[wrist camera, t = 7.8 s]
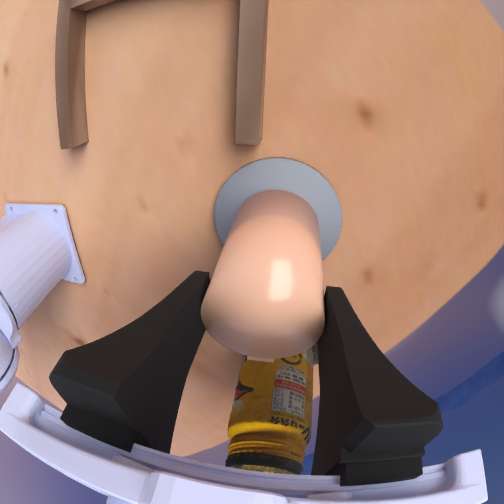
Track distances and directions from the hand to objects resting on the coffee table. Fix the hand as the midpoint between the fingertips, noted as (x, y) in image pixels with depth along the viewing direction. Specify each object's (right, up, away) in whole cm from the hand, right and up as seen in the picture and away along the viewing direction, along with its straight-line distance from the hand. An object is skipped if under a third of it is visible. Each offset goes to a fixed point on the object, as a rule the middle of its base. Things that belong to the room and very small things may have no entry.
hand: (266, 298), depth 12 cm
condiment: (+3, -6, +13) cm, 15 cm away
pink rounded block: (+1, +2, +5) cm, 6 cm away
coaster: (+1, +4, +6) cm, 8 cm away
